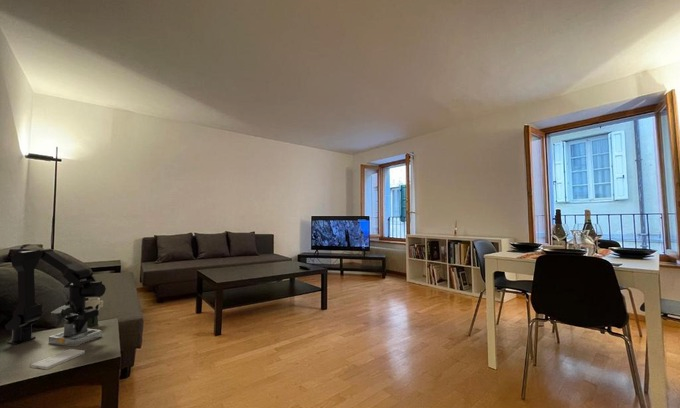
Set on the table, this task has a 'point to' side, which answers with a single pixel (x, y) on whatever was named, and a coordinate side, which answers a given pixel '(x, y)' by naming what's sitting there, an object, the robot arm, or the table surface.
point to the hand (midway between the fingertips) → (75, 332)
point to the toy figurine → (93, 304)
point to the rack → (75, 338)
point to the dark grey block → (72, 329)
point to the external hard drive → (57, 359)
